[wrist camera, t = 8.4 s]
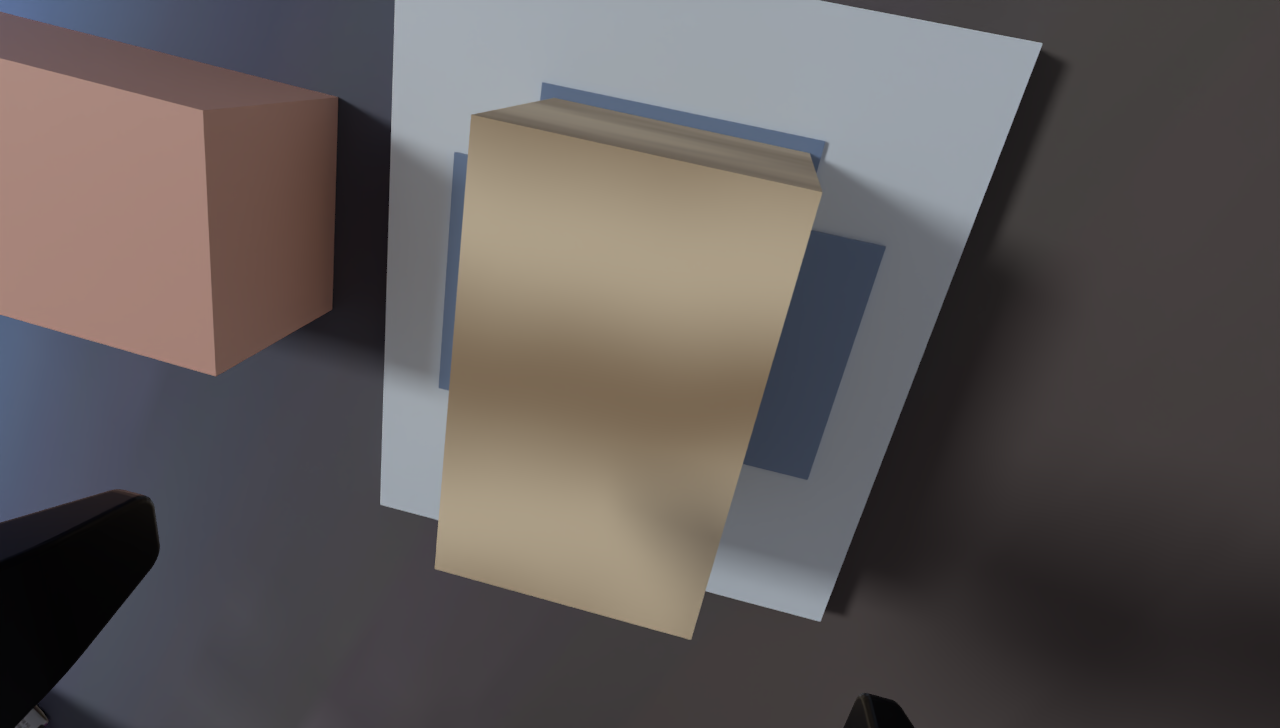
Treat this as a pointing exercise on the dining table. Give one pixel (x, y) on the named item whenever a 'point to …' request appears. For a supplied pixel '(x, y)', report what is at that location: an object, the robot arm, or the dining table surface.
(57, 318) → the brick
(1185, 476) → the dining table surface
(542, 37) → the blueprint board
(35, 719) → the candy bar box
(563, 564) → the brick
